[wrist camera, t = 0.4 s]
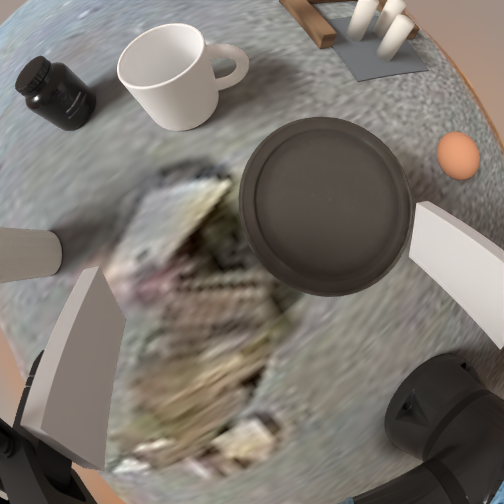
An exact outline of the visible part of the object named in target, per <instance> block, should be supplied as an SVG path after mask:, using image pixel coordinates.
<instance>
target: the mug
mask: <svg viewBox="0 0 504 504" xmlns="http://www.w3.org/2000/svg"><path fill="white" fill-rule="evenodd" d="M216 58H230V59H233V60H234V61H235V62H236V69H235V70H234V71H233V72H232V73H231V74H230V75H228V76H225V77H222V78H218V79H215V76H214V72H213V69H212V65H211V61H210V60H212V59H216ZM248 69H249V59H248V57H247V55H246V54H245V53H244V51H242V50H241V49H240V48H238V47H235V46H232V45H228V44H212V45H206V43H205V40H204V37H203V35H202V33H201V32H200V31H199V30H198V29H196V28H195V27H193V26H190V25H187V24H180V23H173V24H166V25H162V26H158V27H155V28H153V29H150V30H148V31H146V32H145V33H143V34H141V35H140V36H138V37H137V38H136V39H134V40H133V41H132V42H131V43H130V44H129V45H128V46H127V47H126V49H125V50H124V51H123V53H122V55H121V56H120V59H119V61H118V65H117V73H118V77H119V79H120V81H121V82H122V83H123V84H124V85H125V87H126V88H127V89H128V90H129V91H130V93H131V94H132V95H133V96H134V97H135V98H136V100H137V101H138V102H139V103H140V104H141V105H142V107H143V108H144V109H145V110H146V111H147V113H148V114H149V115H150V116H151V117H152V118H153V120H154V121H155V122H156V123H158V124H159V125H160V126H162V127H163V128H165V129H168V130H172V131H185V130H189V129H192V128H195V127H197V126H199V125H201V124H202V123H204V122H205V121H206V120H207V119H208V118H209V117H210V116H211V115H212V114H213V112H214V111H215V109H216V107H217V104H218V98H219V93H218V91H219V90H222V89H225V88H228V87H231V86H233V85H235V84H237V83H238V82H240V81H241V80H242V79H243V78H244V77H245V75H246V74H247V72H248Z"/></svg>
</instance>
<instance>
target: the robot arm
mask: <svg viewBox="0 0 504 504" xmlns="http://www.w3.org/2000/svg"><path fill="white" fill-rule="evenodd" d="M409 257H410V258H411V259H412V260H413V261H414V262H416V263H417V264H418V265H419V266H420V267H421V268H422V269H423V270H424V271H425V272H426V273H428V274H429V275H430V276H431V277H432V278H433V279H434V280H435V281H436V282H437V283H438V284H439V285H440V286H441V287H442V288H443V289H444V290H445V291H446V292H447V293H448V294H449V295H450V296H451V297H452V298H453V299H454V300H455V301H456V302H457V303H458V304H459V305H460V306H461V307H462V308H463V309H464V310H465V311H466V312H467V313H468V314H469V315H470V316H471V317H472V318H473V319H474V320H475V321H476V323H477V324H478V325H479V326H480V327H481V328H482V329H483V330H484V331H485V333H486V334H487V335H488V336H489V337H490V338H491V339H492V341H493V342H494V343H495V344H496V345H497V346H498V348H499V349H500V350H501V349H502V348H503V347H504V250H502V249H501V248H500V247H498V246H497V245H496V244H494V243H493V242H491V241H490V240H489V239H487V238H486V237H484V236H483V235H481V234H480V233H479V232H477V231H476V230H474V229H473V228H471V227H470V226H468V225H467V224H465V223H464V222H462V221H460V220H459V219H457V218H456V217H454V216H452V215H451V214H449V213H448V212H446V211H444V210H443V209H441V208H439V207H438V206H436V205H434V204H432V203H431V202H429V201H425V202H419V203H416V212H415V220H414V227H413V234H412V240H411V246H410V252H409ZM125 323H126V319H125V317H124V315H123V313H122V311H121V309H120V307H119V305H118V304H117V302H116V300H115V298H114V296H113V293H112V291H111V289H110V287H109V285H108V283H107V281H106V279H105V277H104V274H103V272H102V270H101V268H100V266H97V267H92V268H88V269H84V270H83V272H82V273H81V275H80V277H79V279H78V281H77V282H76V284H75V286H74V288H73V290H72V292H71V294H70V296H69V298H68V300H67V302H66V304H65V306H64V308H63V310H62V312H61V314H60V316H59V318H58V320H57V323H56V325H55V327H54V329H53V332H52V334H51V336H50V338H49V341H48V343H47V346H46V348H45V350H42V352H41V353H40V354H39V356H38V357H37V358H36V360H35V361H34V363H33V366H32V368H31V371H30V373H29V376H30V377H28V379H27V382H26V388H24V391H23V394H22V397H21V400H20V403H19V407H18V410H17V413H16V417H15V421H14V424H13V427H10V426H9V425H8V424H7V423H6V422H4V421H3V420H2V419H1V418H0V490H1V491H3V492H5V493H6V494H7V496H8V500H5V499H3V498H1V497H0V504H97V502H96V501H95V500H94V498H93V497H92V495H91V494H90V492H89V491H88V490H87V488H86V486H85V485H84V483H83V482H82V480H81V479H80V477H79V476H78V474H77V473H76V472H75V470H74V469H72V468H71V465H72V461H73V462H74V463H76V464H78V465H80V466H81V467H83V468H88V469H95V470H103V471H104V465H105V449H106V438H107V427H108V419H109V410H110V403H111V396H112V389H113V383H114V377H115V371H116V366H117V360H118V355H119V350H120V345H121V341H122V336H123V331H124V327H125ZM385 430H386V433H387V435H388V436H389V438H390V439H391V441H392V442H393V444H394V445H395V446H397V447H398V448H399V449H401V450H403V451H405V452H407V453H409V454H410V455H412V456H414V457H416V458H418V459H420V460H422V461H423V462H424V463H422V464H421V465H419V466H417V467H415V468H413V469H412V470H410V471H408V472H406V473H404V474H403V475H401V476H399V477H397V478H395V479H393V480H391V481H389V482H387V483H385V484H383V485H381V486H378V487H376V488H374V489H372V490H369V491H367V492H365V493H362V494H360V495H358V496H355V497H349V498H347V499H346V500H345V501H343V502H341V503H338V504H504V400H503V399H502V398H500V397H498V396H497V395H495V394H493V393H492V392H490V391H489V390H487V389H486V387H485V385H484V384H483V382H482V380H481V379H480V377H479V376H478V374H477V372H476V371H475V369H474V368H473V366H472V365H471V364H470V363H469V362H468V361H466V360H465V359H463V358H461V357H459V356H457V355H454V354H444V355H440V356H437V357H434V358H432V359H430V360H428V361H427V362H425V363H424V364H422V365H421V366H419V367H418V368H417V369H416V370H415V371H413V372H412V373H411V374H410V375H409V376H408V377H407V378H406V379H405V381H404V382H403V383H402V384H401V386H400V387H399V388H398V390H397V391H396V393H395V394H394V396H393V398H392V399H391V401H390V404H389V406H388V408H387V411H386V415H385Z"/></svg>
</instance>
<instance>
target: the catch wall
mask: <svg viewBox="0 0 504 504" xmlns="http://www.w3.org/2000/svg"><path fill="white" fill-rule="evenodd" d="M340 1H358V0H279V2H280V3H281V4H282V5H283V6H284V7H285V8H286V10H287V11H288V12H289V13H290V14H291V15H292V16H293V17H294V18H295V20H296V21H297V22H298V23H299V24H300V25H301V27H302V28H303V29H304V30H305V31H306V33H307V34H308V35H309V36H310V37H311V39H312V40H313V41H314V42H315V44H316V45H317V46H318V48H319V49H322V48H327V47H332V46H333V43H334V40H335V37H336V34H337V33H336V32H335V30H334V29H333V28H332V27H331V26H330V25H329V24H328V22H327V21H326V20H325V19H324V18H323V17H322V16H321V15H320V14H319V13H318V12H317V11H316V10H315V8H314V7H313V6H312V5H311V4H317V3H327V2H340ZM386 2H387V0H379V4H378V6H377V9H378V10H379V11H380V12H382V10H383V8H384V6H385V4H386ZM401 14H402V15H405V16H407V17H408V18H410V17H409V16H408V15H407V14H406V13H405V12H404V11H402V13H401ZM410 19H411V18H410ZM411 20H412V19H411ZM413 23H414V22H413ZM419 29H420V28H419V27H418V26H417V25H416V24H415V23H414V27H413V29H412V30H411V32H410V33H409V35H408V36H407V37H406V39H413V38H414V36H415V35H416V34H417V32H418V31H419Z"/></svg>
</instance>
